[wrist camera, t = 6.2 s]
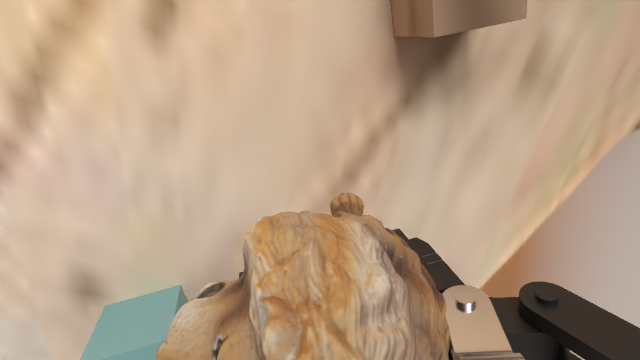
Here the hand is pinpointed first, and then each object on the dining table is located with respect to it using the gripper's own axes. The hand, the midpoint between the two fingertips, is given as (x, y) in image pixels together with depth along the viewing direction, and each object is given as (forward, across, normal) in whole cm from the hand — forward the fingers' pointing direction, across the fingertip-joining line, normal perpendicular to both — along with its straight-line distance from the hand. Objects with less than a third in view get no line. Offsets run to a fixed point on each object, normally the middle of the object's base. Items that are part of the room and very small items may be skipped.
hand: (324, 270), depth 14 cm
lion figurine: (+1, 0, +1) cm, 2 cm away
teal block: (+11, +12, +9) cm, 18 cm away
